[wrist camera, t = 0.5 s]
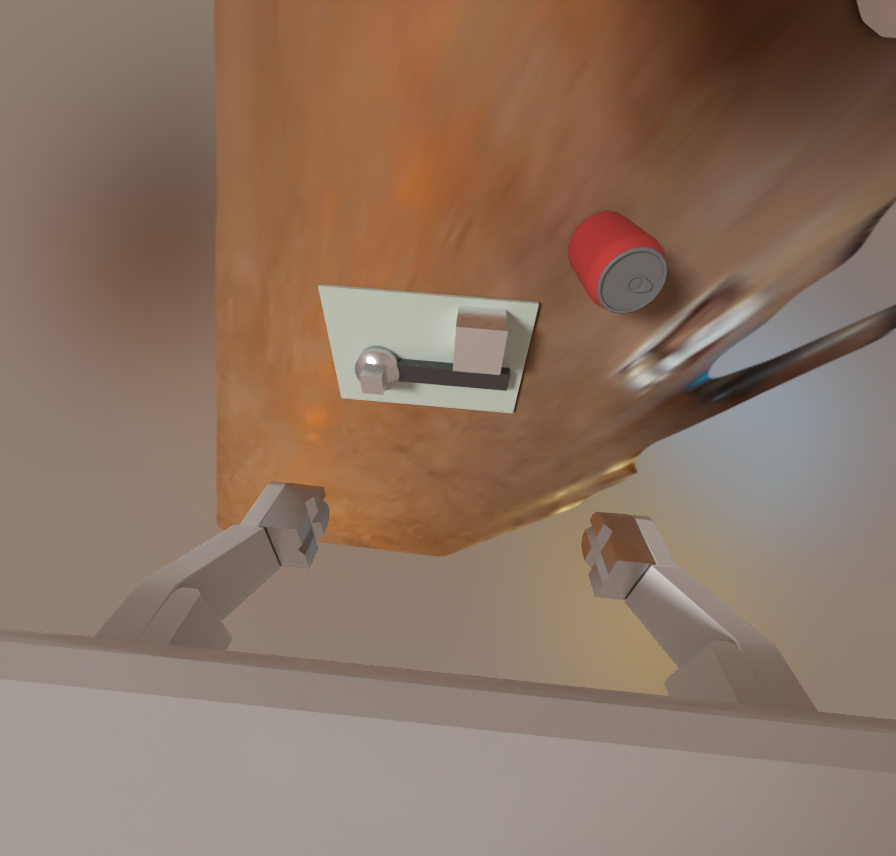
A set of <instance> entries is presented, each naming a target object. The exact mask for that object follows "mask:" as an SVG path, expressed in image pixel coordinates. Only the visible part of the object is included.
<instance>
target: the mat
mask: <svg viewBox="0 0 896 856" xmlns="http://www.w3.org/2000/svg"><path fill="white" fill-rule="evenodd" d="M318 288H319V293H320V297H321V302H322V307H323V312H324V317H325V321H326V326H327V331H328V336H329V340H330V345H331V350H332V355H333V360H334V364H335V369H336V374H337V379H338V384H339V388H340V393H341V398H348V399H359V400H370V401H382V402H393V403H404V404H415V405H426V406H438V407H449V408H460V409H471V410H482V411H494V412H505V413H513V411H514V407H515V402H516V398H517V394H518V390H519V386H520V382H521V377H522V373H523V369H524V365H525V361H526V356H527V352H528V348H529V344H530V340H531V335H532V331H533V327H534V323H535V319H536V315H537V310H538V306H539V302H532V301H520V300H508V299H495V298H483V297H471V296H459V295H446V294H434V293H422V292H409V291H397V290H385V289H373V288H360V287H348V286H336V285H323V284H320V285H319V286H318ZM459 305H462V306H474V307H487V308H499V309H506V316H507V325H508V335H507V340H506V346H505V351H504V356H503V362H502V367H505V368H510V379H509V384H508V388H507V391H502V390H491V389H480V388H468V387H457V386H445V385H434V384H423V383H411V382H400V381H398V382H397V384H396V385H395V386H394V387H393V388H392V389H390V390H386V391H385V392H384V395H378V394H366V393H362V388H361V382H360V381H359V380H358V378H357V376H356V374H355V364H356V361H357V360H358V358H359V356H360V354H361V352H362V351H363V350H364V349H365V348H367V347H370V346H383V347H386V348H388V349H390V350H392V351H393V352H394V353H395V354H396V355H397V356H398V358H399V359H400V358H401V359H412V360H424V361H436V362H447V363H453V361H454V347H455V333H456V322H457V315H458V307H459Z"/></svg>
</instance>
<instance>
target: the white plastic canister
mask: <svg viewBox="0 0 896 856" xmlns="http://www.w3.org/2000/svg"><path fill="white" fill-rule="evenodd" d="M856 1H857V5H858V8H859V12H860V15H861V18H862V20H863V22H864V23H865V24H867V25H868V26H869V27H870V28H872V29H873V30H874V31H875V32H876V33H878V34H879V35H880V36H881V37H891V38H896V0H856Z"/></svg>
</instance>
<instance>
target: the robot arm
mask: <svg viewBox="0 0 896 856" xmlns="http://www.w3.org/2000/svg"><path fill="white" fill-rule="evenodd" d="M325 496H326V494H325V490H324V487H319V486H311V485H303V484H294V483H284V482H275V481H272V482H271V483H269V484H268V485H267V486H266V488H265V489H264V490H263V492H262V493H261V495H260V496H259V498H258V499H257V501H256V502H255V503H254V505H253V506H252V508H251V509H250V511H249V512H248V513H247V515H246V516H245V518H244V519H243V521H242V522H241V524H240V525H233V526H231V527H230V528H228V529H226V530H225V531H223V532H221V533H220V534H218V535H216V536H215V537H213V538H212V539H210V540H208V541H207V542H205V543H203V544H201V545H200V546H198V547H197V548H195V549H193V550H192V551H190V552H188V553H187V554H185V555H183V556H182V557H180V558H178V559H177V560H175V561H173V562H172V563H170V564H168V565H167V566H165V567H163V568H162V569H160V570H158V571H157V572H155V573H154V574H152V575H150V576H148V577H147V578H145V579H144V580H142V581H140V583H139V584H138V585H137V586H136V587H135V588H134V590H133V591H132V592H131V594H129V596H128V597H127V598H126V599H125V600H124V602H123V603H122V604H121V605H120V606H119V607H118V609H117V610H116V611H115V612H114V614H113V615H112V616H111V617H110V618H109V619H108V621H107V622H106V623H105V624H104V625H103V626H102V628H101V629H100V630H99V631H98V632H97V633H96V635H95V636H94V637H92V636H83V635H73V634H64V633H54V632H43V631H34V630H24V629H15V628H4V627H0V856H896V720H894V719H885V718H875V717H865V716H856V715H846V714H837V713H826V712H818V711H817V709H816V707H815V706H814V704H813V703H812V701H811V700H810V698H809V697H808V695H807V693H806V692H805V691H804V689H803V687H802V686H801V684H800V683H799V681H798V679H797V678H796V676H795V675H794V673H793V672H792V670H791V669H790V667H789V665H788V664H787V662H786V661H785V659H784V658H783V656H782V655H781V653H780V652H779V650H778V648H777V647H776V645H775V644H773V643H772V642H771V641H770V640H768V639H767V638H766V637H765V636H764V635H763V634H761V633H760V632H759V631H758V630H757V629H755V628H754V627H753V626H752V625H751V624H749V623H748V622H747V621H746V620H745V619H743V618H742V617H741V616H740V615H738V614H737V613H736V612H735V611H734V610H732V609H731V608H730V607H729V606H728V605H727V604H725V603H724V602H723V601H722V600H721V599H719V598H718V597H717V596H716V595H714V594H713V593H712V592H711V591H710V590H708V589H707V588H706V587H705V586H704V585H702V584H701V583H700V582H699V581H698V580H696V579H695V578H694V577H693V576H692V575H691V574H689V573H688V572H687V571H686V570H685V569H683V568H680V567H677V566H676V564H675V562H674V560H673V558H672V556H671V555H670V553H669V551H668V549H667V547H666V545H665V543H664V541H663V539H662V538H661V536H660V534H659V532H658V530H657V528H656V526H655V524H654V522H653V521H652V519H651V518H649V517H648V516H637V515H628V514H615V513H603V512H595V513H594V514H593V515H592V517H591V519H590V521H591V524H592V526H590V527H589V528H587V529H585V532H584V534H583V536H582V552H583V557H584V560H585V561H586V562H587V563H588V565H589V566H590V567H591V568H592V569H591V571H590V573H589V578H590V581H591V585H592V588H593V591H594V595H595V596H596V597H603V598H611V599H619V600H625V603H626V604H627V605H628V607H629V608H630V609H631V610H632V612H633V613H634V614H635V615H636V616H637V618H638V619H639V620H640V621H641V623H642V624H643V625H644V626H645V627H646V629H647V630H648V631H649V632H650V633H651V635H652V636H653V637H654V638H655V640H656V641H657V642H658V643H659V644H660V646H661V647H662V648H663V649H664V651H665V652H666V653H667V654H668V656H669V657H670V658H671V659H672V660H673V662H674V663H675V664H676V665H677V667H678V668H679V669H678V670H676V671H675V672H674V673H673V674H672V675H670V676H669V677H668V678H667V679H666V681H665V686H666V689H667V691H668V694H669V696H663V695H653V694H644V693H634V692H625V691H615V690H605V689H596V688H585V687H576V686H566V685H557V684H546V683H537V682H528V681H518V680H509V679H499V678H489V677H480V676H470V675H461V674H451V673H441V672H432V671H422V670H412V669H403V668H393V667H383V666H374V665H363V664H354V663H345V662H334V661H325V660H315V659H306V658H296V657H286V656H276V655H267V654H257V653H248V652H237V651H228V650H227V648H228V646H229V644H230V642H231V640H232V636H231V633H230V632H229V630H228V629H227V628H226V626H225V625H224V623H223V622H222V620H223V619H224V618H225V617H227V615H229V614H230V613H231V612H232V611H233V610H234V609H235V608H237V607H238V606H239V605H240V604H241V603H242V602H243V601H244V600H246V599H247V598H248V597H249V596H250V595H251V594H252V593H253V592H254V591H256V589H257V588H259V587H260V586H261V585H262V584H263V583H264V582H266V581H267V580H268V579H269V578H270V577H271V576H272V575H273V574H275V573H276V572H277V571H278V570H279V569H280V566H283V567H296V568H310V566H311V564H312V561H313V559H314V557H315V554H316V552H317V550H318V546H317V542H316V541H317V540H318V539H320V538H321V537H322V536H324V534H325V531H326V529H327V526H328V521H329V507H328V505H327V504H326V503H325V502H324V501H323V500H324V498H325Z"/></svg>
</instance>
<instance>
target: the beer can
mask: <svg viewBox="0 0 896 856" xmlns="http://www.w3.org/2000/svg"><path fill="white" fill-rule="evenodd" d="M568 257H569V260H570V263H571V266H572V268H573V269H574V271H575V273H576V275H577V276H578V278H579V280H580V282H581V283H582V285H583V287H584V289H585V290H586V292H587V294H588V296H589V297H590V298H591V299H592V300H593V302H594V303H595V304H597V305H599V306H601V307H603V308H605V309H607V310H609V311H611V312H613V313H620V314H624V313H630V312H634V311H636V310H639V309H641V308H643V307H644V306H646V305H647V304H649V303H650V302H651V301H653V300H654V298H655V297H656V296H657V295H658V294H659V293H660V291H661V290H662V288H663V286H664V284H665V282H666V278H667V273H668V269H667V262H666V260H665V256H664V251H663V249H662V247H661V246H660V244H659V243H658V241H657V240H656V239H654V238H653V237H651V236H650V235H649V234H647V233H646V232H645V231H643V230H642V229H641V228H639V227H638V226H636V225H635V224H634V223H632V222H631V221H630V220H628V219H627V218H626V217H624V216H622V215H621V214H619V213H617V212H612V211H604V212H599V213H596V214H594V215H592V216H590V217H589V218H587V219H586V220H584V221H583V222H582V223H581V224H580V225H579V226H578V227H577V229H576V231H575V232H574V234H573V235H572V237H571V241H570V244H569V247H568Z"/></svg>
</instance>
